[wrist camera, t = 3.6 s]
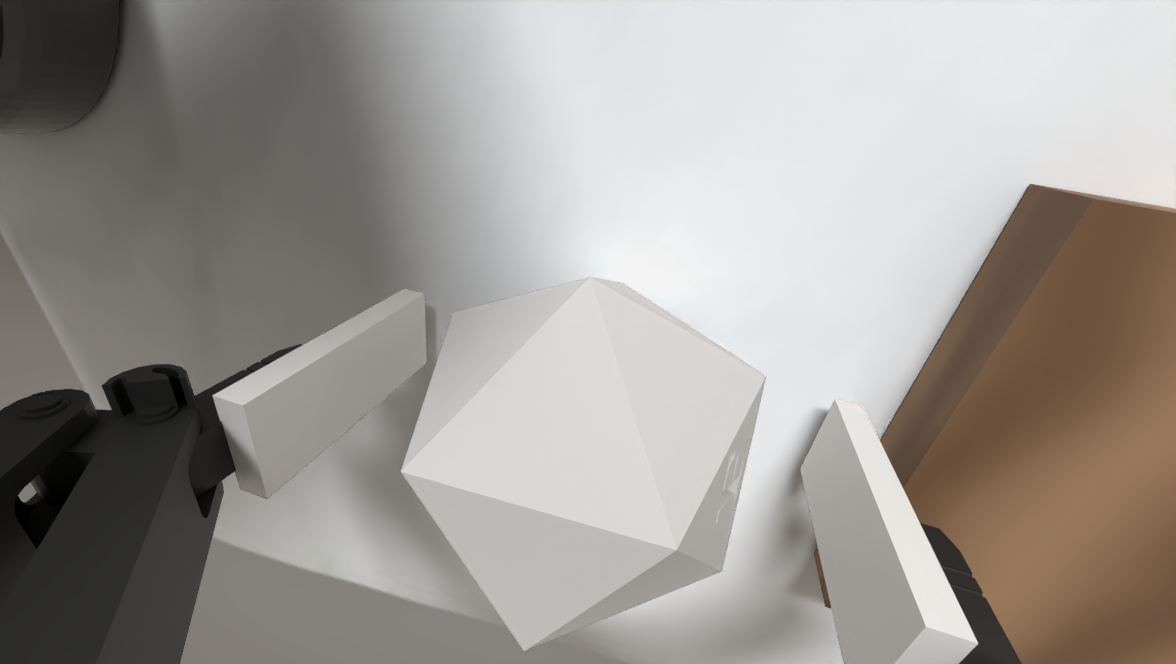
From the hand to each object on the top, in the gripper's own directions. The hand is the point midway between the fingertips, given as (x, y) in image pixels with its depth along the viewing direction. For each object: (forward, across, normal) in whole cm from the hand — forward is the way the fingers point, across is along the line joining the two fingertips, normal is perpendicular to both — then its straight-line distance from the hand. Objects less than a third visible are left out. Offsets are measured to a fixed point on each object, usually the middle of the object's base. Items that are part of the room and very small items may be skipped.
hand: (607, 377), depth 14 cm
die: (+1, 0, 0) cm, 1 cm away
